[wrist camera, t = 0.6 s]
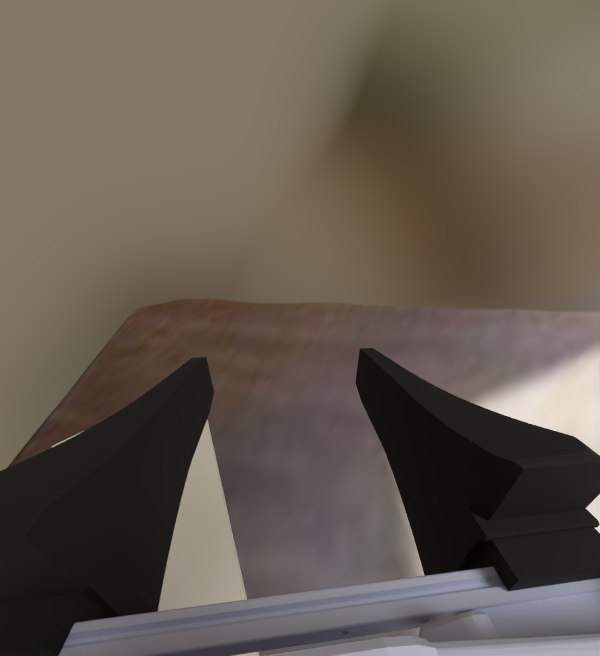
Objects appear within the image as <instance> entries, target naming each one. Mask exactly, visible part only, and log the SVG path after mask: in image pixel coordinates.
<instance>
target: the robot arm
mask: <svg viewBox="0 0 600 656" xmlns="http://www.w3.org/2000/svg"><path fill="white" fill-rule="evenodd" d="M356 385H357V389H358V392H359V395H360V398H361V401H362V403H363V405H364V408H365V410H366V412H367V414H368V416H369V418H370V420H371V422H372V424H373V427H374V429H375V431H376V433H377V435H378V437H379V439H380V441H381V443H382V446H383V448H384V450H385V453H386V455H387V458H388V461H389V463H390V466H391V469H392V472H393V474H394V477H395V480H396V483H397V486H398V489H399V492H400V495H401V498H402V501H403V504H404V507H405V510H406V514H407V517H408V520H409V523H410V526H411V529H412V533H413V536H414V539H415V543H416V546H417V550H418V553H419V557H420V560H421V564H422V567H423V571H424V574H425V576H419V577H411V578H404V579H397V580H389V581H382V582H374V583H367V584H359V585H352V586H344V587H337V588H329V589H322V590H314V591H307V592H299V593H292V594H285V595H277V596H270V597H262V598H255V599H247V600H240V601H232V602H225V603H217V604H210V605H202V606H195V607H187V608H180V609H173V610H165V611H158V607H159V601H160V596H161V591H162V586H163V580H164V575H165V570H166V565H167V560H168V555H169V551H170V546H171V541H172V537H173V532H174V528H175V523H176V519H177V515H178V511H179V507H180V502H181V498H182V494H183V490H184V487H185V483H186V479H187V475H188V471H189V468H190V465H191V462H192V459H193V456H194V454H195V451H196V448H197V445H198V443H199V440H200V437H201V435H202V432H203V429H204V426H205V424H206V421H207V418H208V415H209V412H210V408H211V404H212V399H213V394H214V390H213V385H212V381H211V377H210V372H209V368H208V363H207V359H206V357H201V358H192V359H190V360H189V361H187V362H186V363H185V364H183V365H182V366H181V367H180V368H178V369H177V370H176V371H174V372H173V373H172V374H171V375H169V376H168V377H167V378H165V379H164V380H163V381H162V382H160V383H159V384H158V385H156V386H155V387H153V388H152V389H151V390H149V391H148V392H146V393H145V394H144V395H142V396H141V397H139V398H138V399H137V400H135V401H134V402H132V403H131V404H129V405H128V406H126V407H125V408H123V409H122V410H120V411H118V412H117V413H115V414H113V415H112V416H110V417H108V418H107V419H105V420H103V421H102V422H100V423H98V424H96V425H94V426H93V427H91V428H89V429H87V430H85V431H83V432H81V433H80V434H78V435H76V436H74V437H72V438H70V439H68V440H67V441H65V442H63V443H61V444H58V445H56V446H54V447H52V448H50V449H48V450H46V451H44V452H42V453H40V454H38V455H36V456H33V457H31V458H29V459H27V460H25V461H23V462H20V463H18V464H16V465H14V466H11V467H9V468H7V469H5V470H2V471H0V656H233V655H239V654H246V653H253V652H259V651H266V650H272V649H279V648H286V647H292V646H299V645H305V644H312V643H319V642H325V641H332V640H338V639H345V638H352V637H358V636H365V635H372V634H378V633H385V632H391V631H398V630H405V629H411V628H418V627H421V628H420V632H419V636H420V638H418V637H413V636H401V637H387V638H378V639H371V640H365V641H358V642H352V643H345V644H339V645H332V646H326V647H319V648H313V649H306V650H300V651H293V652H286V653H280V654H273V655H267V656H600V533H599V532H598V531H597V530H596V529H595V528H594V527H598V526H599V525H600V524H599V522H598V520H597V519H596V518H595V517H594V516H593V515H592V514H591V513H590V512H589V511H588V510H587V509H585V508H586V507H587V506H588V505H589V504H590V503H591V502H592V501H593V500H594V499H595V498H596V497H597V496H598V495H599V494H600V456H599V455H598V454H597V453H595V452H594V451H593V450H591V449H590V448H589V447H588V446H586V445H585V444H584V443H582V442H581V441H580V440H578V439H577V438H575V437H573V436H570V435H567V434H563V433H560V432H556V431H553V430H549V429H546V428H542V427H539V426H535V425H532V424H528V423H525V422H522V421H519V420H516V419H513V418H510V417H507V416H505V415H502V414H499V413H496V412H493V411H491V410H488V409H485V408H483V407H480V406H478V405H475V404H473V403H471V402H468V401H466V400H463V399H461V398H459V397H457V396H454V395H452V394H450V393H448V392H446V391H444V390H442V389H440V388H438V387H436V386H434V385H432V384H430V383H428V382H427V381H425V380H423V379H421V378H420V377H418V376H416V375H414V374H413V373H411V372H409V371H408V370H406V369H405V368H403V367H401V366H400V365H398V364H397V363H395V362H394V361H392V360H391V359H389V358H387V357H386V356H384V355H383V354H381V353H380V352H378V351H376V350H375V349H373V348H366V349H360V352H359V360H358V368H357V376H356Z"/></svg>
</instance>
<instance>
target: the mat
mask: <svg viewBox="0 0 600 656" xmlns="http://www.w3.org/2000/svg"><path fill="white" fill-rule="evenodd" d="M80 433H81V432H80ZM80 433H78V434H80ZM78 434H76V435H78ZM76 435H74V436H76ZM74 436H72V437H74ZM72 437H70V438H72ZM70 438H68V439H70ZM68 439H66V440H64V441H62V442H60V443H58V444H61V443H63V442H65V441H67V440H68ZM58 444H55V445H53V446H52V447H54V446H56V445H58ZM240 600H247V597H246V592H245V588H244V583H243V579H242V574H241V570H240V565H239V561H238V556H237V551H236V547H235V542H234V538H233V533H232V529H231V524H230V520H229V515H228V511H227V506H226V501H225V497H224V492H223V488H222V483H221V479H220V474H219V470H218V465H217V461H216V456H215V451H214V447H213V442H212V438H211V433H210V429H209V424H208V420H207V421H206V424H205V426H204V429H203V432H202V435H201V437H200V440H199V443H198V445H197V448H196V451H195V454H194V456H193V459H192V462H191V465H190V468H189V471H188V475H187V479H186V483H185V487H184V490H183V494H182V498H181V502H180V507H179V511H178V515H177V519H176V523H175V528H174V532H173V537H172V541H171V546H170V551H169V555H168V560H167V565H166V570H165V575H164V580H163V586H162V591H161V596H160V601H159V607H158V611H165V610H173V609H180V608H187V607H195V606H202V605H210V604H217V603H225V602H232V601H240ZM233 656H259V652H253V653H246V654H239V655H233Z"/></svg>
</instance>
